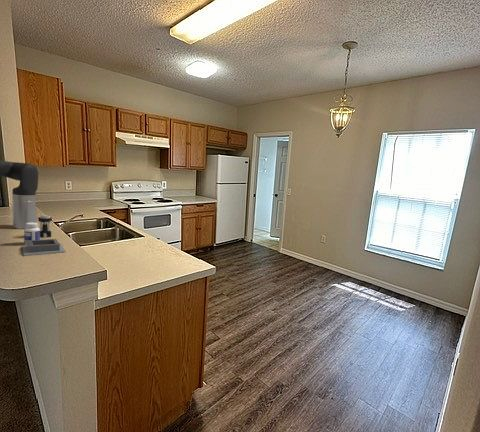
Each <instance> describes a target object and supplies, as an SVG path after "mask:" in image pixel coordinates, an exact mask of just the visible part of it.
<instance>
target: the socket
mask: <svg viewBox="0 0 480 432" xmlns="http://www.w3.org/2000/svg"><path fill="white" fill-rule="evenodd" d="M21 248H22V249H21V250H22V254H23V257H27V256H39V255H47V254H48V255H50V254H61V253H66V250H65V247H64V246H63V245H62V243H59V241H58V239H57V238H50V239H49V238H48V239H40V240H29V241H28V245H26V244H25V245H22V246H21Z"/></svg>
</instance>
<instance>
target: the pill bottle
mask: <svg viewBox="0 0 480 432" xmlns="http://www.w3.org/2000/svg"><path fill="white" fill-rule="evenodd" d="M26 227H27V228H26V229H24V230H23V234H24V235H23V236H24V237H23V239H24V242H23V243H24V245H25V246H26V245H28V241H29V240H41V237H40V227H39V223H38V222H37V223H34V222H31V223H26Z"/></svg>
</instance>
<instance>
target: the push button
mask: <svg viewBox="0 0 480 432" xmlns="http://www.w3.org/2000/svg"><path fill="white" fill-rule="evenodd" d="M37 219H38V222H39V224H40V227H39V229H40V238H51V237H52V231H51V227H50V226H51V223H50V222H52V219H53V217H51V215H46V214H45V215H40V216H39V217H37Z"/></svg>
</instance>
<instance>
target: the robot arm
mask: <svg viewBox="0 0 480 432" xmlns="http://www.w3.org/2000/svg"><path fill="white" fill-rule="evenodd" d="M0 177H4V178H8V179H11V180H14V181H19V185H18V186H17V187H16V186H15V187H13V188H12V228H13V229H19V230H20V229H24V230H25V229H26V228H27V227H26V223H31V222H34V223H38V222H37V219H38V217H37V213H38V211H37V208H36V207H37V205H36V203H37V202H36V195H37V194H36V193H37V190H38V185H39V170H38V168H37V166H35V165H34V164H32V163H27V162H19V161H16V162H14V161H8V160H7V161H6V160H1V159H0Z"/></svg>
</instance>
